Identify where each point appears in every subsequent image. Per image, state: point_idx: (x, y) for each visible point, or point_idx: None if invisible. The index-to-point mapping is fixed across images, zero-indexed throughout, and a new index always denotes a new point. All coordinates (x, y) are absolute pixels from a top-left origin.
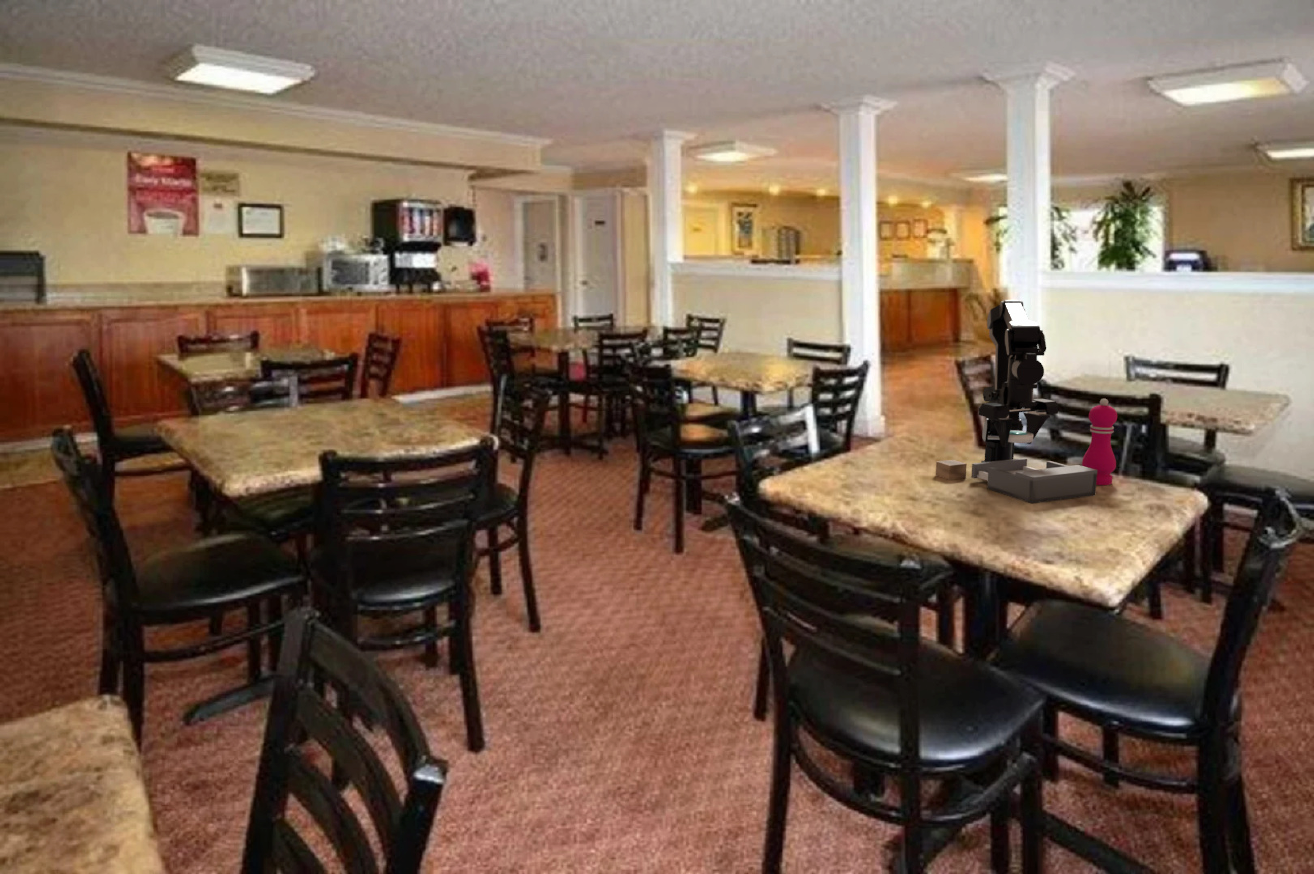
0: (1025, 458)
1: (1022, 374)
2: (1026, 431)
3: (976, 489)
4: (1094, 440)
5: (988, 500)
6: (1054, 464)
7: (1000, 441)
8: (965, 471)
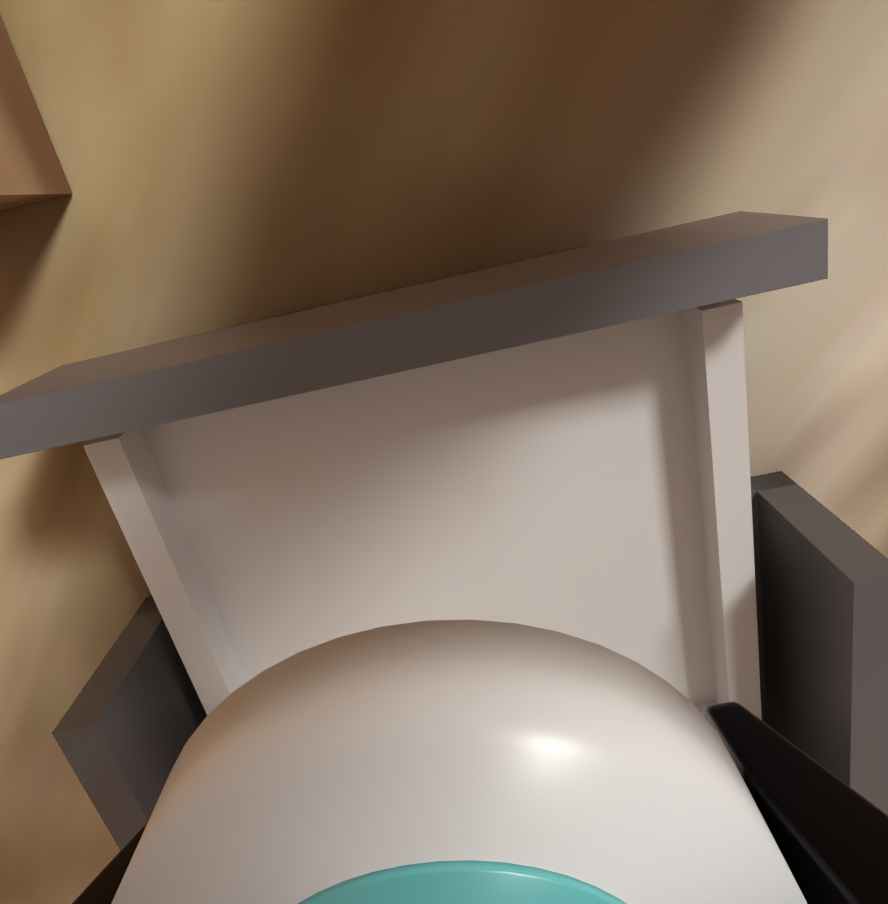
0: (820, 252)
1: None
2: (836, 887)
3: (52, 599)
4: None
5: (51, 835)
6: (844, 673)
7: (113, 866)
8: (22, 195)
